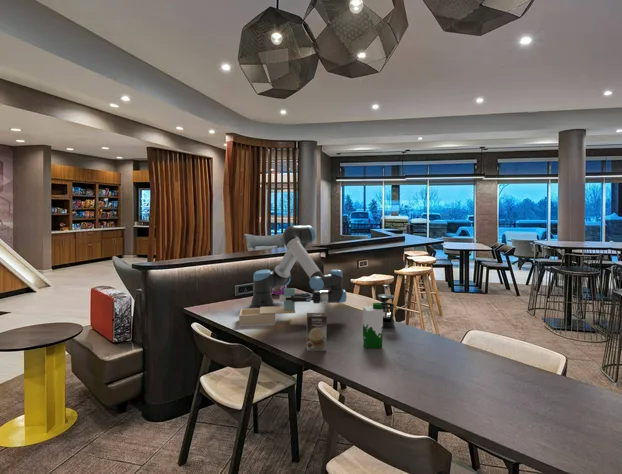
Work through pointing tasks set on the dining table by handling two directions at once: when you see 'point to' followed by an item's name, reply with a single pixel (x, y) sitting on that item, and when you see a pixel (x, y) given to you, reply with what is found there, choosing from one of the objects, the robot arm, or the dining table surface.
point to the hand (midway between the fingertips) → (279, 298)
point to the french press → (388, 319)
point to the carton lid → (287, 308)
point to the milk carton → (373, 326)
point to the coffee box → (316, 331)
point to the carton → (255, 318)
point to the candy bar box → (278, 290)
